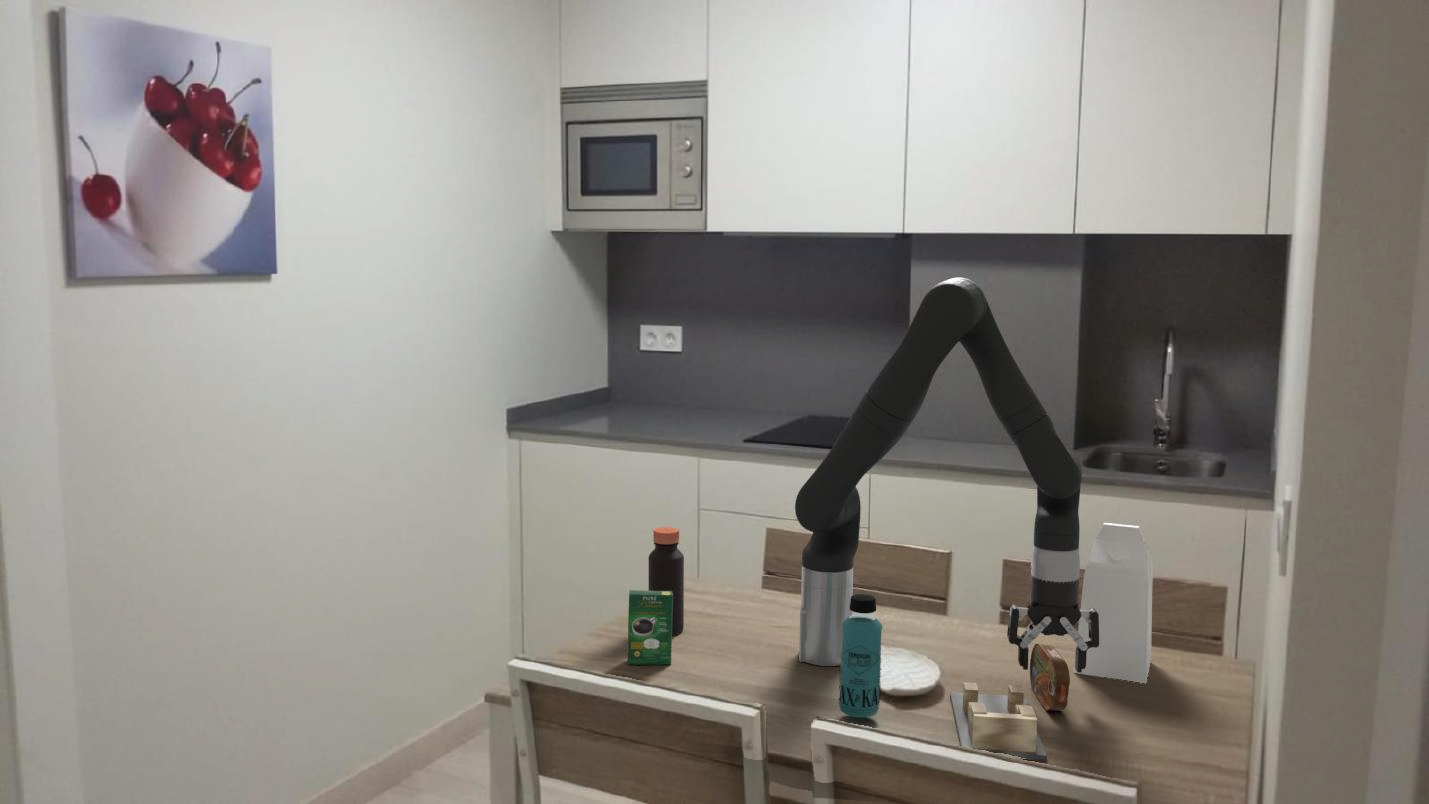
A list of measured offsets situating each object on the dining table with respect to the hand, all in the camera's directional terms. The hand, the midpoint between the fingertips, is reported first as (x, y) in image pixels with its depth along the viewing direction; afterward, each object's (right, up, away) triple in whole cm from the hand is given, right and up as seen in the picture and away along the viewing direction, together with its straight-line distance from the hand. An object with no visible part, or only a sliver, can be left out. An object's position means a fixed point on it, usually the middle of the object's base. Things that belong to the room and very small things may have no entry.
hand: (1051, 669), depth 183 cm
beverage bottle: (-33, -6, -7) cm, 34 cm away
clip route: (-12, -7, -10) cm, 16 cm away
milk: (+16, -4, +16) cm, 23 cm away
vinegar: (-65, -1, +33) cm, 73 cm away
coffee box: (-67, -3, +16) cm, 69 cm away
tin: (0, -6, +1) cm, 6 cm away
